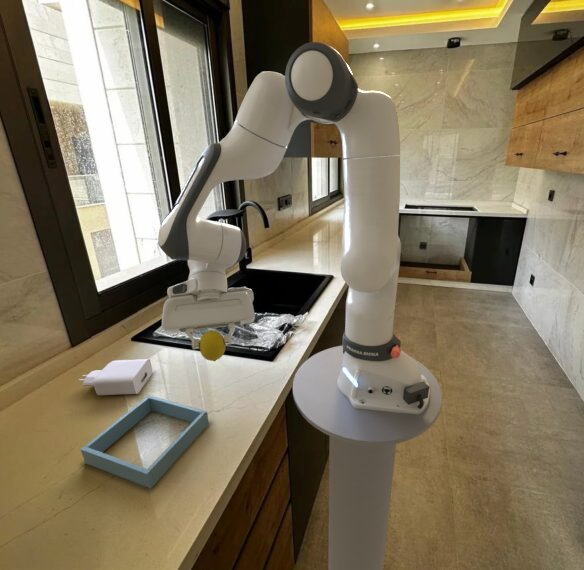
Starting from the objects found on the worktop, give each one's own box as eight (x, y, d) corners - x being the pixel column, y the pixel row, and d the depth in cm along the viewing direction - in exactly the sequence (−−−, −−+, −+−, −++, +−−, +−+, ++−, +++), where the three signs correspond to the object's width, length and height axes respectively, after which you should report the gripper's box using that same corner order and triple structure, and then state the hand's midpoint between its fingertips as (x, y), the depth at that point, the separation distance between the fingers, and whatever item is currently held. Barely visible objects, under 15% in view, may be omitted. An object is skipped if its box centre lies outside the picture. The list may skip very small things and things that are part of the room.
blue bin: (209, 423, 70) (206, 411, 69) (150, 488, 56) (146, 474, 55) (151, 407, 75) (149, 394, 73) (85, 463, 61) (80, 449, 60)
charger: (94, 374, 86) (153, 372, 87) (71, 398, 77) (136, 395, 78) (89, 359, 84) (149, 357, 85) (65, 382, 75) (132, 379, 76)
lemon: (214, 352, 79) (210, 322, 76) (232, 357, 77) (228, 328, 74) (196, 363, 75) (191, 333, 72) (214, 370, 72) (210, 339, 69)
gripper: (252, 291, 84) (258, 343, 79) (166, 299, 79) (166, 356, 74) (252, 280, 79) (259, 336, 74) (159, 289, 73) (159, 349, 68)
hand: (212, 346), depth 74 cm, fingers closed on lemon, 5 cm apart
